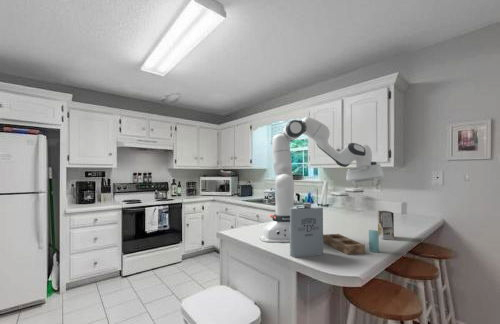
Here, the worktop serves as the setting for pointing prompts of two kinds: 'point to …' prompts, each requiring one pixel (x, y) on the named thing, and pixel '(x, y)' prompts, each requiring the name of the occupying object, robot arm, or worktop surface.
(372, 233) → the peg
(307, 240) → the flask
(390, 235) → the coffee box
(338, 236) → the wooden compartment tray
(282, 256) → the worktop surface
